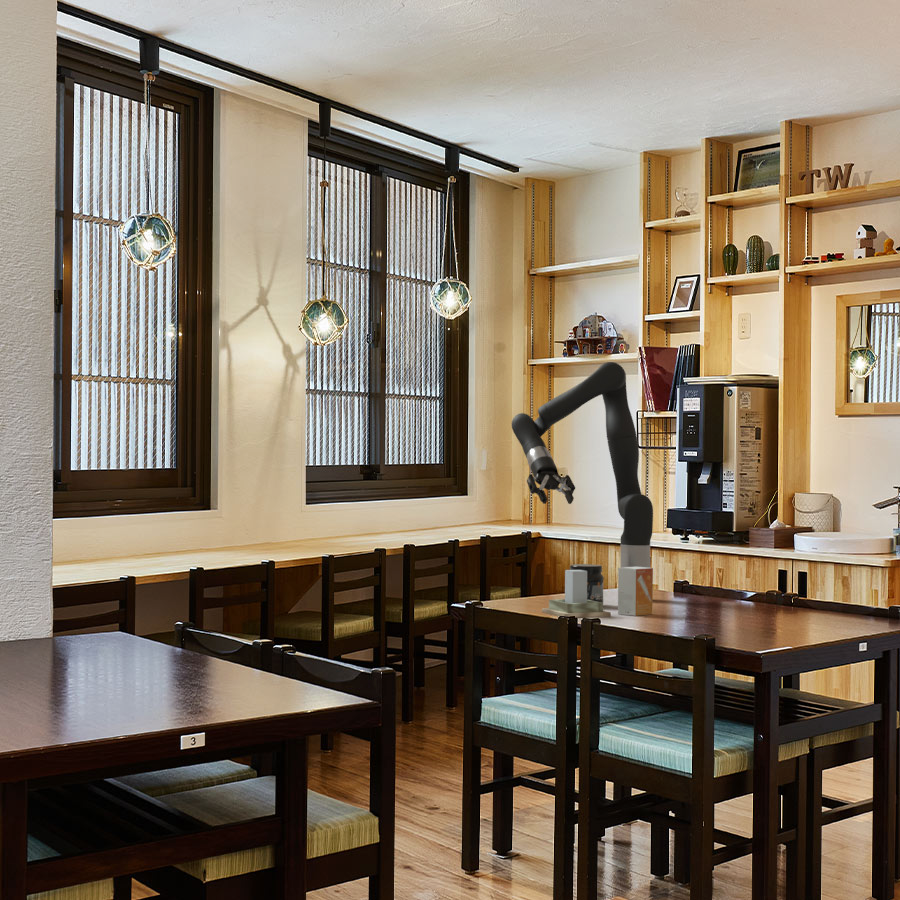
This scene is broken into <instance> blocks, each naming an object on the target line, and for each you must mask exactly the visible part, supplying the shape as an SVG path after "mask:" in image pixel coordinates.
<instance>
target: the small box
mask: <svg viewBox="0 0 900 900" xmlns="http://www.w3.org/2000/svg"><path fill="white" fill-rule="evenodd" d="M617 577H618V579H617V586H618V587H617V614H618V615H622V616H634V617H636V616H645V615H647V616H648V615H652V614H653V598H654V596H653V595H654V594H653V591H654V589H653V586H654V568H653V567H650V568H647V567H624V568H620V567H618V573H617Z"/></svg>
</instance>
